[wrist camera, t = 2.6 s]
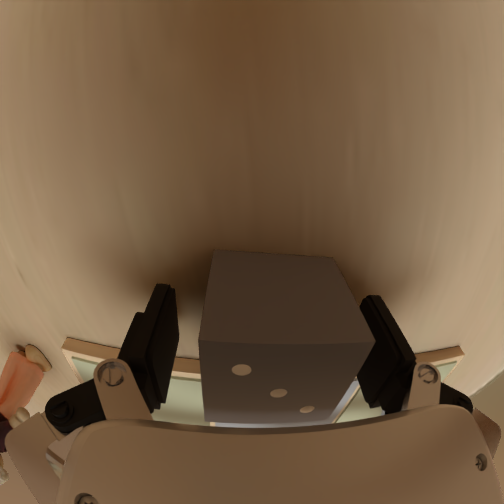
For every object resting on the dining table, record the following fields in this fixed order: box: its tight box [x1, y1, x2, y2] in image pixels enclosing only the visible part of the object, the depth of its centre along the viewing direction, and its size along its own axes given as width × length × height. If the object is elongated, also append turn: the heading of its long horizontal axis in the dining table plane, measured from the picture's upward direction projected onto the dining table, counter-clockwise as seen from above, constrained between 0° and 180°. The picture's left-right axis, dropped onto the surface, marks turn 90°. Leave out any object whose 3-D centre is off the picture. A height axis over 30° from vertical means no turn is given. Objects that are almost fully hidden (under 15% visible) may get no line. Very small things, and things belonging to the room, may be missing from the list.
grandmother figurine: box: [0, 345, 52, 485], centre depth 10 cm, size 8×4×13 cm, turn 129°
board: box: [61, 337, 465, 428], centre depth 16 cm, size 9×28×1 cm, turn 84°
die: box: [198, 250, 376, 424], centre depth 10 cm, size 5×5×5 cm
